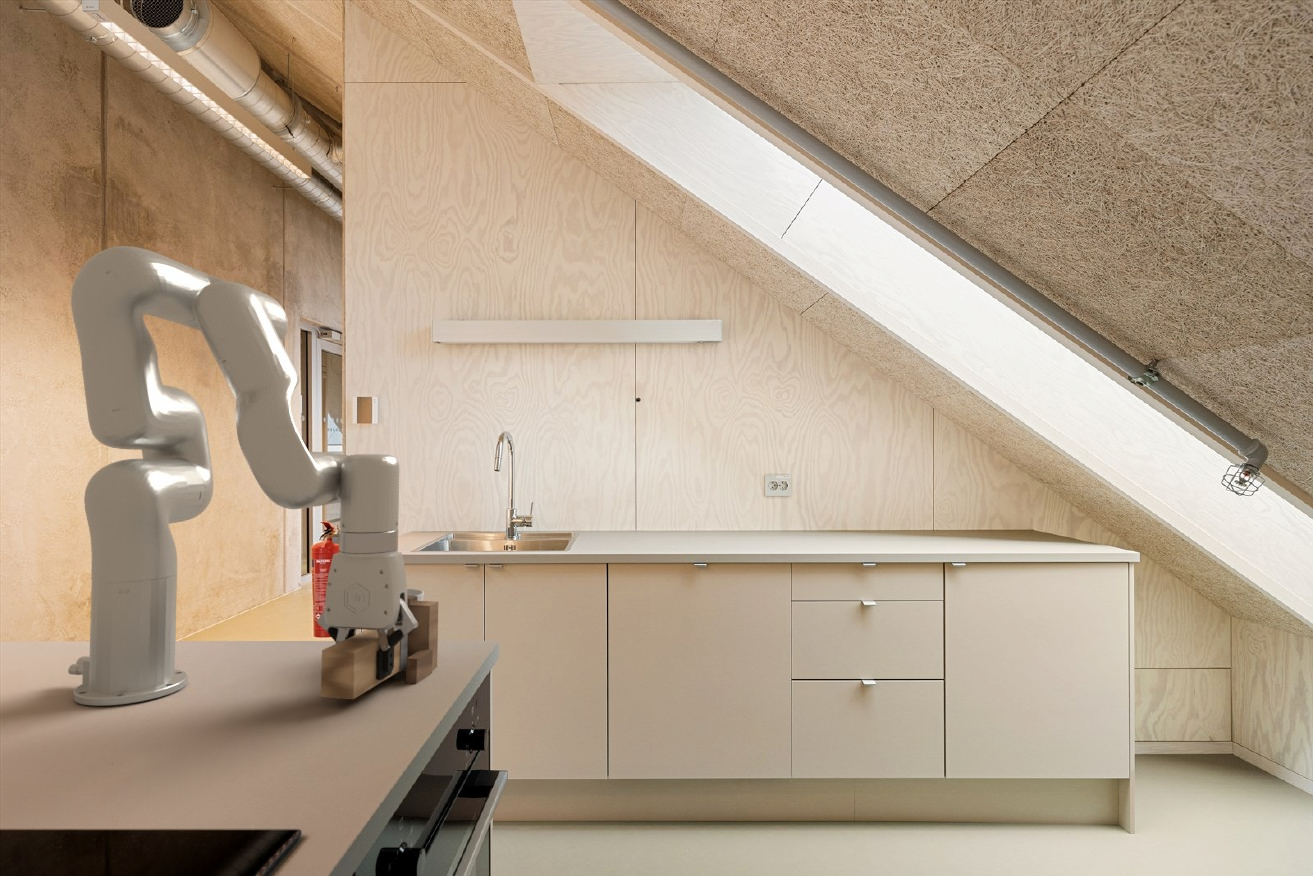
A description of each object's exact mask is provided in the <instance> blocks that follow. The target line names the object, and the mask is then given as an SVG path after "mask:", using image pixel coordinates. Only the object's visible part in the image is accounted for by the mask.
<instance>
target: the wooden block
mask: <svg viewBox="0 0 1313 876" xmlns="http://www.w3.org/2000/svg"><path fill="white" fill-rule="evenodd" d="M395 627H396V630H397V629H399V628H400V627H401V626H398V625H395ZM378 650H380V643H379V638H378V633H377V630H366V629H364V631H360V632H359V633H356V635H354V636H352V637H350V638H348V639H346V640H343V641H341V642H339V643H337V644H336V643H335V644H332V645H331V646H328V647H326V648H324V649H322V650H321V675H320V676H321V679H320V680H321V681H320V684H321V687H320V697H321V698H329V699H330V698H331V699H332V698H333V699H343V700H344V699H345V700H354V699H356V698H358V697H359V696H362V695H363V694H364V693H366V692H367V691H369V690H371V689H373V688H374V687H376V686H377V685H379V684H381V683H382V682H384V681H386V680H387V679H388V678H390V677H392V676H394V675H395V674H397V673H398V672H402V671H401V670H403V669H405V668H406V662H407V650H408V634H406V635H405V636H404V637H403V638H402V639H401V640H400V641H399V642H398V644H397V645H396V646H394V668H393V670H392V673H391V675H389V676H387V677H386V678H384V679H382V680H377V679H376V662H377V651H378Z"/></svg>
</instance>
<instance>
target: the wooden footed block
mask: <svg viewBox="0 0 1313 876" xmlns="http://www.w3.org/2000/svg"><path fill="white" fill-rule="evenodd" d="M407 606H408V608H409V610H410V611H411V613H412V614H413V616H414V617H415V619H416V620H417V622H418V626H417V627H416V628H415V629H414V630H412V631H411V632H409V633H408V650H407V662H406V668H405V669H403V670H401V671H400V672H405V674H406V675H405V677H406V679H405V683H407V684H418V683H420V682H421V681H423V680H424V679H425V678H427V677H429V676H430V675H431V674H432V673H433V670H435V669H436V668H438V641H439V633H438V632H439V601H432V600H431V601H430V600H429V601H428V600H423V601H417V596H407ZM395 625H398V626H402V625H403V623H402V622H400V623H396V624H395Z"/></svg>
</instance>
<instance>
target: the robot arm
mask: <svg viewBox="0 0 1313 876" xmlns="http://www.w3.org/2000/svg"><path fill="white" fill-rule="evenodd" d="M70 304H71V313H72V319H73V323H74V328H75V332H76V335H77V340H78V345H79V352H80V360H81V372H82V380H83V387H84V388H83V389H84V396H85V402H86V403H85V404H86V411H87V420H88V423H89V428H90V431H91V434H92V435H93V437H94V438H95V439H96V440H97V441H98V442H99V443H100V444H102V445H104V446H106V447H109V448H113V449H119V450H132V451H133V450H135V451H136V450H137V451H138V450H139V451H140V450H141V456H142V458H130V459H121V460H119V461H115V462H111V463H109V464H107V465H104V466H103V467H101V468H100V469H99V470H97V471H96V472H95V473H94V474H93V475H92V477H90V479H89V481H88V483H87V485H86V487H85V490H84V498H83V500H84V511H85V515H86V521H87V524H88V530H89V537H90V545H91V546H90V547H91V551H90V552H91V574H90V575H91V577H90V579H91V596H90V600H91V601H90V630H89V631H90V632H89V634H90V635H89V656H86V655H85V656H81V657H79V658H78V659H77V660H76V662H75V663H74V664H70V665H69V667H68V670H67V672H68V674H69V675H72V676H73V675H75V676H81V675H82V681H81V683H82V684H80V685H78V686H77V687H76V688H74V691H73V700H74V702H76V703H78V704H80V705H84V706H96V707H100V706H102V707H103V706H104V707H107V706H119V705H129V704H135V703H139V702H140V703H141V702H145V701H149V700H150V701H151V700H154V699H158V698H161V697H164V696H168V695H170V694H173V693H175V692H178V691H181V690H182V689H183V688H184V687H186V685H187V684H188V678H189V675H188V674H187V673H186V672H185V671H184V670H180V669H176V633H177V632H176V629H177V595H178V593H177V591H178V556H177V547H176V544H175V540H174V537H173V534H172V532H171V528H170V526H169V525H170V524H175V523H176V524H177V523H182V522H187V521H191V520H192V519H194V518H197V517H198V516H200V515H201V514H203V512H205V510H206V509H207V508H208V506H209V505H210V502H211V501H212V498H213V493H214V475H213V474H214V473H213V467H212V460H211V459H212V458H211V451H210V444H209V443H210V442H209V436H208V429H207V423H206V417H205V413H204V412H203V410H202V408H201V406H200V404H199V403H198V401H197V400H196V399H195V398H194V396H192V395H191V394H189V392H187V391H185V390H184V389H181V388H178V387H176V386H171V385H170V386H169V385H163V382H162V378H161V373H160V369H159V358H158V351H157V347H156V344H155V341H154V339H153V337H152V335H151V333H150V332H149V329H148V328H147V325H146V324H145V320H144V316H145V315H148V316H151V317H155V318H159V319H162V320H166V321H169V322H173V323H176V324H179V325H183V326H185V327H189V328H192V329H194V330H197V331H199V332H201V334H202V336H203V339H205V342H206V344H207V345H208V348H209V350H210V351H211V354H212V355H213V357H214V359H215V361H216V363H217V365H218V367H219V368H220V371H221V373H222V374H223V377H224V379H225V381H226V383H227V384H228V386H229V389H230V391H231V393H232V394H233V397H234V399H235V409H234V410H235V415H234V416H235V423H236V434H237V440H238V444H239V446H240V450H241V453H242V454H243V457H244V459H245V460H246V462H247V465H248V466H249V469H250V471H251V472H252V475H253V476H254V478H255V480H256V482H257V483H258V485H259V487H260V488H261V490H262V491H263V493H264V494H265V495H266V496H267V497H268V498H269V500H270V501H272V502H273V503H274V504H275V505H277V506H278V507H280V508H284V509H288V510H301V509H302V510H303V509H308V508H313V507H321V506H327V505H333V504H340V509H339V510H340V517H339V518H340V520H339V521H340V522H339V526H340V527H339V531H338V533H334V534H333V535H332V537H331V542H332V543H333V544H338V550H339V552H336V553H333V556H332V559H331V562H330V567H329V572H328V575H327V576H328V577H327V584H326V591H325V600H324V610H323V612H322V613H321V615H320V616H319V617H318V619H317V620H316V622H317V624H318V626H320V628H322V629H324V631H325V632H327V633H328V635H329V637H331V639H333V641H334V642H335V644H337V643H339V642H341V641H343V640H346V639H348V638H350V637H352V636H354V635H356V634H357V631H358V630H377V633H378V638H379V643H380V650H378V651H377V662H376V679H377V680H382V679H384V678H386V677H387V676H389V675H391V673H392V670H393V668H394V646H396V645H397V644H398V642H399V641H400V640H401V639H402V638H403V637H404V636H405V635H406V634H408V633H409V632H411V631H412V630H414V629H415V628H416V627H417V626H418V622H417V620H416V619H415V617H414V616H413V614H412V613H411V611H410V610H409V608H408V606H407V589H408V586H407V585H408V584H407V575H406V567H405V562H404V561H405V560H404V557H403V553H402V552H399V509H400V507H399V506H400V502H399V501H400V463H399V460H398V459H397V458H396V457H395V456H393V455H390V454H377V453H376V454H372V453H371V454H370V453H369V454H368V453H367V454H366V453H363V454H356V453H355V454H350V455H347V454H340V453H334V452H328V451H309V450H308V448H307V445H305V443H304V440H303V438H302V437H301V434H300V433H299V430H298V429H297V426H296V424H295V421H294V418H293V414H292V408H291V399H292V395H293V393H294V392H295V390H296V388H297V387H298V385H299V382H300V375H299V373H298V370H297V369H296V367H295V364H294V363H293V362H292V359H291V357H290V355H289V354H288V352H287V350H286V348H285V347H284V344H283V341H284V339H285V338H286V336H287V333H288V330H289V321H288V320H289V318H288V316H287V314H286V311H285V309H284V307H283V306H282V305H281V303H280V302H278V300H276V299H275V298H273V297H272V296H271V295H268V294H266V293H264V292H262V291H259V290H257V289H255V288H252V287H250V286H248V285H245V284H244V283H243V284H242V283H239V282H234V281H228V280H224V279H222V278H219V277H216V276H214V275H211V274H208V273H205V272H203V271H201V270H199V269H196V268H194V267H191V266H188V265H187V264H183V263H181V262H179V261H177V260H174V259H172V258H170V257H168V256H165V255H163V254H161V253H158V252H155V251H153V250H150V249H145V248H142V247H139V246H137V247H136V246H132V245H131V246H130V245H118V246H113V247H107V248H106V249H104V250H103V249H102V250H101V251H99V252H97V253H96V254H93V256H91V257H90V258H89V259H88V260H87V261H86V262H85V263H84V264H83V265H82V267H80V270H79V271H78V272H77V275H76V277H75V279H74V280H73V285H72V289H71V296H70ZM400 622H402V623H403V625H402V626H401V627H400V628H399V629H397V630H396V627H395V624H396V623H400Z"/></svg>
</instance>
